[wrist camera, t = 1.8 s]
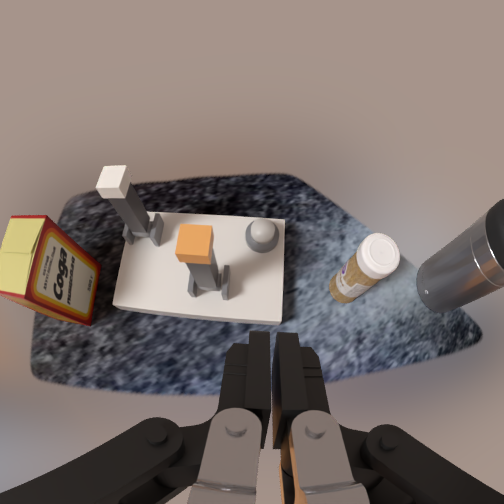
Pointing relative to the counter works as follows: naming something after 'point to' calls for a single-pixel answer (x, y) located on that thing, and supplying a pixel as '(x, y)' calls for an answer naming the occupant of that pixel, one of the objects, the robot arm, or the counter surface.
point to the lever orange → (199, 255)
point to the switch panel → (229, 264)
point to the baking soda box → (47, 270)
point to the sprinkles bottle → (365, 267)
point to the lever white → (124, 199)
